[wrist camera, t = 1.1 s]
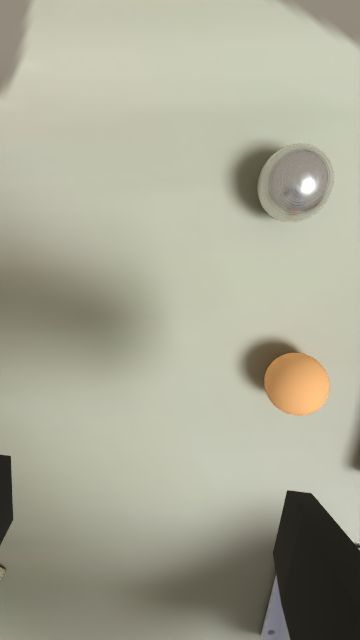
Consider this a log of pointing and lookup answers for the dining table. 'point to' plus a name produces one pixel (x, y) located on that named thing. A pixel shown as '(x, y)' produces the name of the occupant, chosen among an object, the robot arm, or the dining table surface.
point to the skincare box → (2, 572)
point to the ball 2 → (297, 384)
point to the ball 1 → (295, 182)
